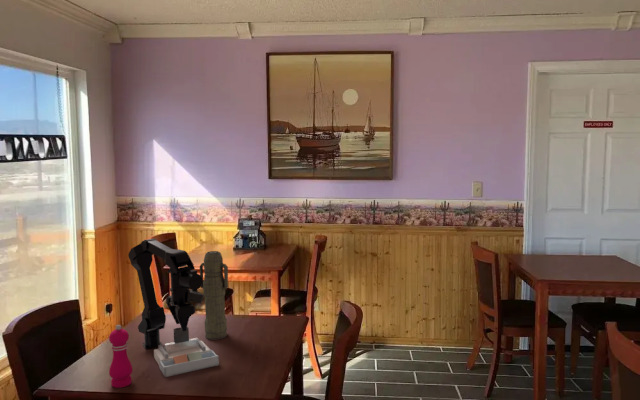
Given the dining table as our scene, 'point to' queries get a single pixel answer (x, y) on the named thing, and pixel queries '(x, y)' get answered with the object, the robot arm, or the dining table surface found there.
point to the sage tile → (194, 356)
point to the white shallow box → (178, 352)
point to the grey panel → (181, 341)
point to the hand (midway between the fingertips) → (181, 327)
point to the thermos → (214, 294)
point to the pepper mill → (120, 359)
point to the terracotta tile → (180, 359)
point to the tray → (189, 364)
